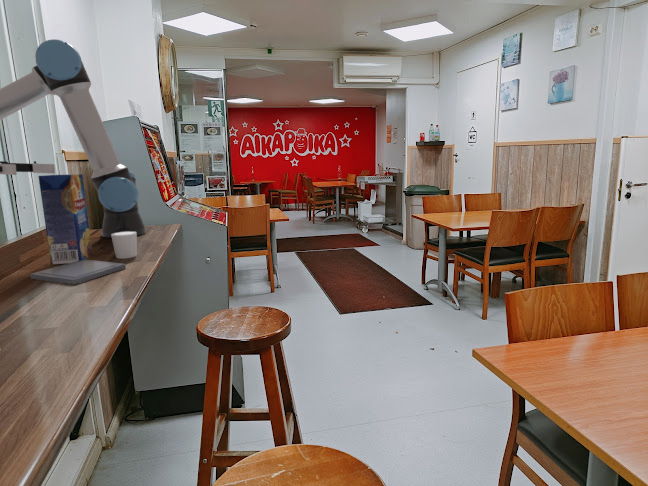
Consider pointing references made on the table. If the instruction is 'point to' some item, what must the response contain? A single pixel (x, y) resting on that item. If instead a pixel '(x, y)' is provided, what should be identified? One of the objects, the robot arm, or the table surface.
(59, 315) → the table surface
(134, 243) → the white cup
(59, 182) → the juice carton
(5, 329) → the table surface
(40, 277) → the slate board
